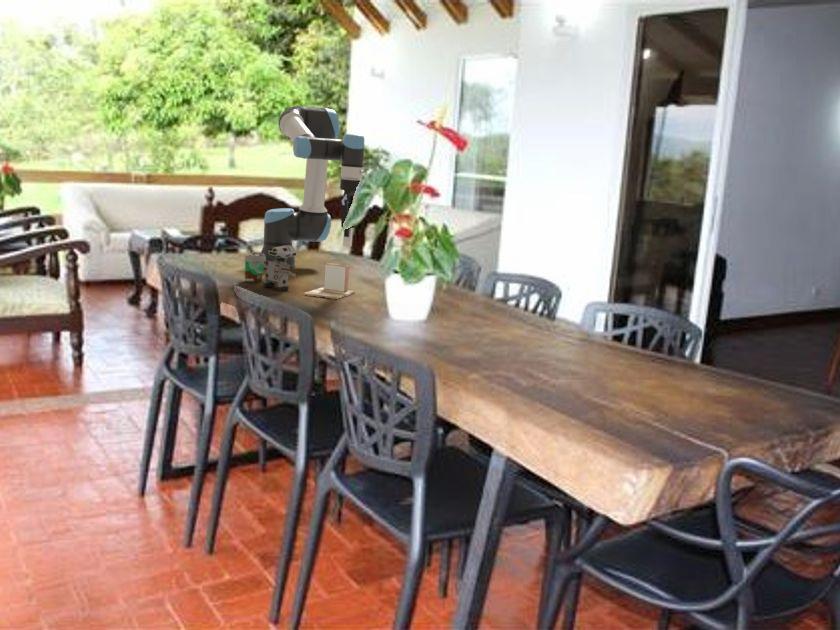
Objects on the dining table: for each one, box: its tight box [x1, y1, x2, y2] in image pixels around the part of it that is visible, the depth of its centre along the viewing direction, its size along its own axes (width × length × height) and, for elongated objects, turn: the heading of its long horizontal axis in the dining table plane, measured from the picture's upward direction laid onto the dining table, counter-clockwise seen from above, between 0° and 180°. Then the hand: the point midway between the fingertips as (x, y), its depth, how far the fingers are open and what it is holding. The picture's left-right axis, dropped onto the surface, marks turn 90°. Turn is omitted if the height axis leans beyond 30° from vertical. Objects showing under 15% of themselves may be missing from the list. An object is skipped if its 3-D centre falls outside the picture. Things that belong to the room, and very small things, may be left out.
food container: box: [244, 251, 266, 284], centre depth 303 cm, size 12×6×10 cm, turn 179°
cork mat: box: [303, 286, 356, 300], centre depth 291 cm, size 16×12×1 cm
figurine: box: [263, 245, 298, 292], centre depth 293 cm, size 9×12×15 cm
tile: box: [323, 262, 350, 292], centre depth 294 cm, size 3×8×9 cm, turn 72°
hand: (347, 245), depth 299 cm, fingers closed
